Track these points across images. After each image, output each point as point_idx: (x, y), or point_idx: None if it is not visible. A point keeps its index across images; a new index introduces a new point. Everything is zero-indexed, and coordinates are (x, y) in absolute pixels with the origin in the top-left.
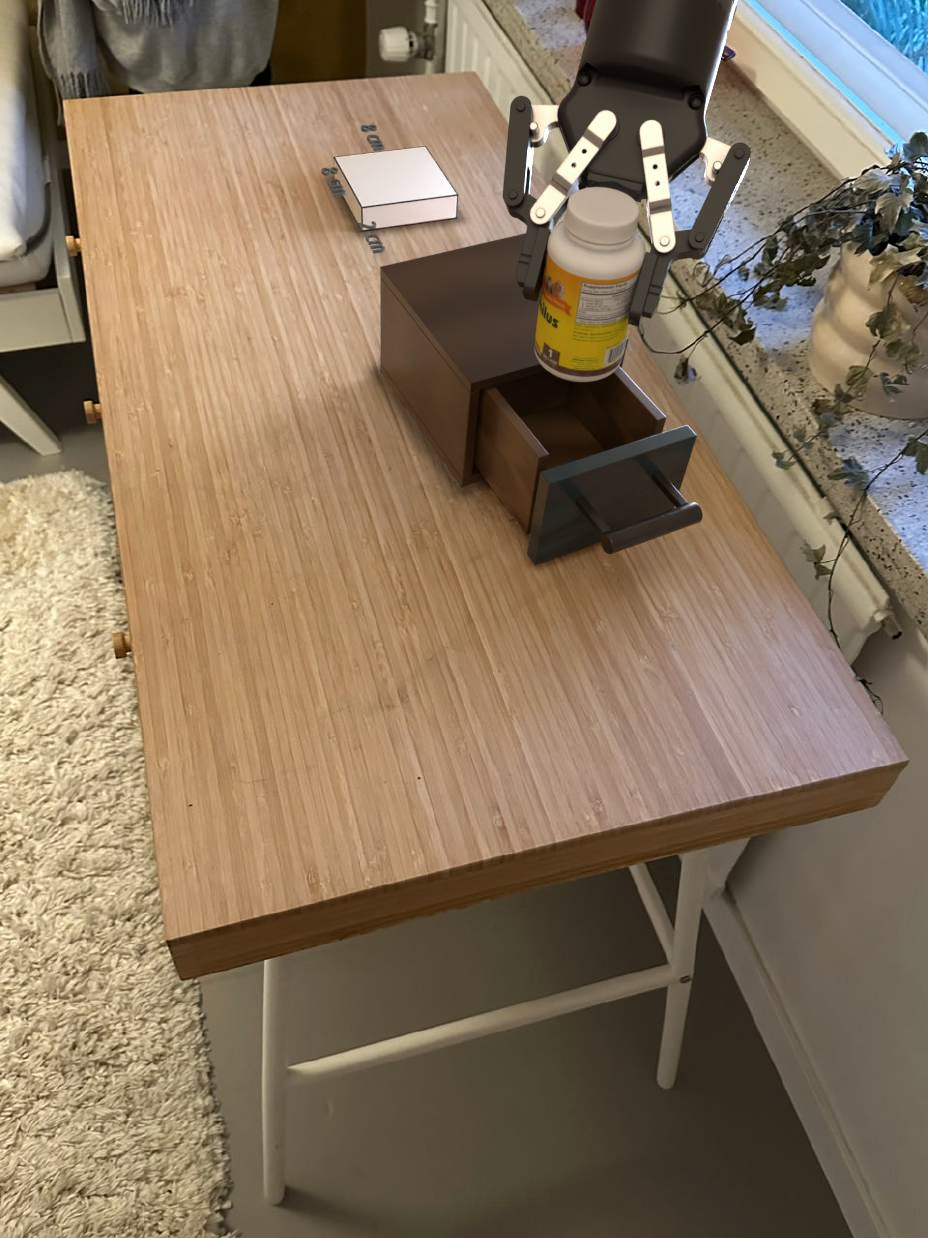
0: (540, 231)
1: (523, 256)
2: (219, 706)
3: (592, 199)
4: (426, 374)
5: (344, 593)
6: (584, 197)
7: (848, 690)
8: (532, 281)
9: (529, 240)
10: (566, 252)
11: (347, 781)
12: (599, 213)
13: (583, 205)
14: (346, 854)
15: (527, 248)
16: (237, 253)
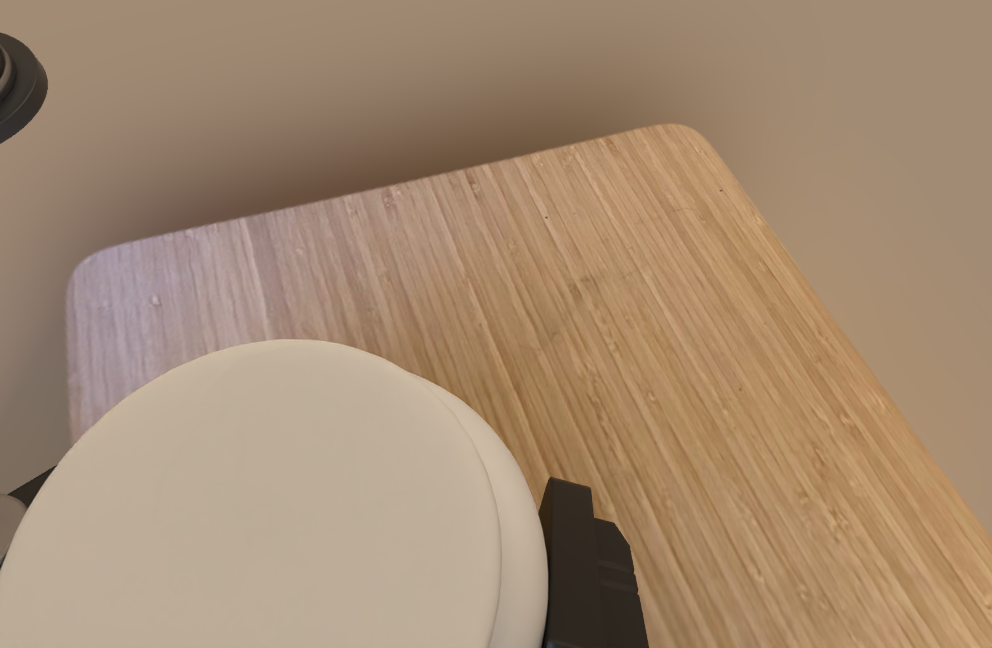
0: (593, 635)
1: (623, 586)
2: (738, 270)
3: (329, 624)
4: None
5: (667, 412)
6: (385, 646)
7: (75, 329)
8: (565, 491)
9: (624, 634)
10: (472, 425)
11: (606, 212)
12: (307, 452)
13: (402, 519)
14: (591, 161)
15: (619, 609)
16: None
